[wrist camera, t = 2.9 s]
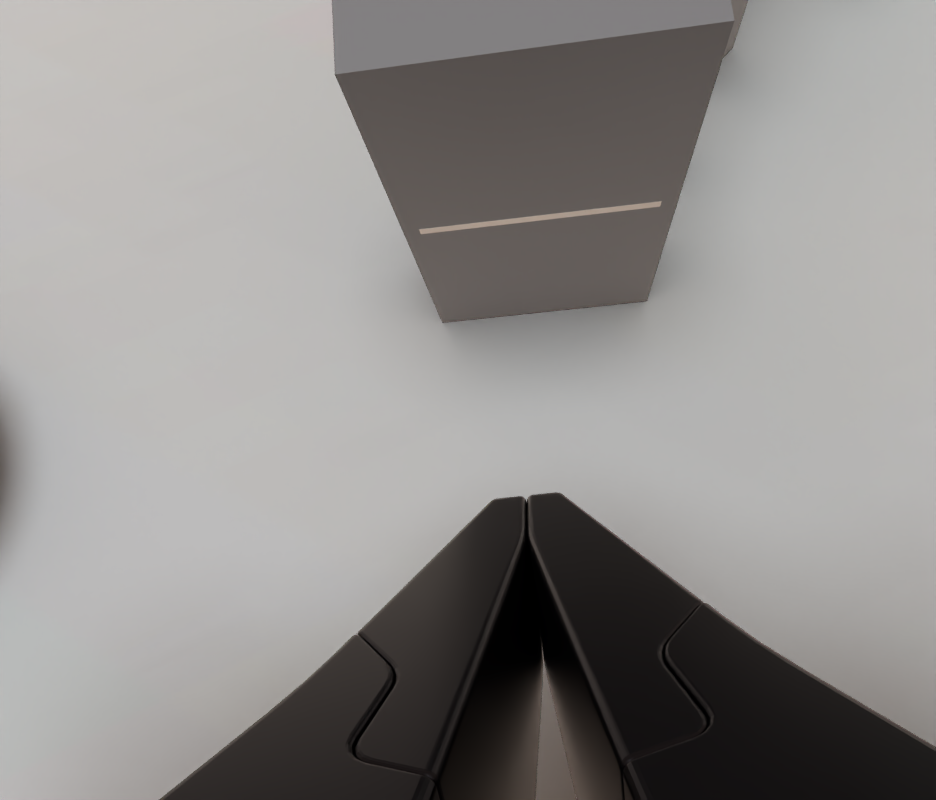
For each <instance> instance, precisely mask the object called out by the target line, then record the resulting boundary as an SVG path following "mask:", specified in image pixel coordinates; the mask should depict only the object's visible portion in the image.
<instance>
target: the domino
mask: <svg viewBox="0 0 936 800" xmlns="http://www.w3.org/2000/svg"><path fill="white" fill-rule="evenodd" d="M332 13H333V38H334V62H335V76H336V78H337V80H338V82H339V85H340V87H341V89H342V92H343V94H344V96H345V99H346V101H347V103H348V106H349V108H350V110H351V112H352V115H353V117H354V119H355V122H356V124H357V126H358V129H359V131H360V133H361V136H362V138H363V140H364V143H365V145H366V147H367V149H368V152H369V154H370V156H371V159H372V161H373V163H374V166H375V168H376V170H377V173H378V175H379V177H380V179H381V182H382V184H383V186H384V189H385V191H386V193H387V196H388V198H389V200H390V203H391V205H392V207H393V209H394V212H395V214H396V216H397V219H398V221H399V223H400V226H401V228H402V230H403V233H404V235H405V237H406V239H407V242H408V244H409V246H410V249H411V251H412V253H413V256H414V258H415V260H416V263H417V265H418V267H419V269H420V272H421V274H422V276H423V279H424V281H425V283H426V286H427V288H428V290H429V293H430V295H431V297H432V300H433V302H434V304H435V306H436V309H437V311H438V313H439V316H440V318H441V320H442V323H444V322H453V321H463V320H472V319H482V318H491V317H500V316H510V315H519V314H529V313H538V312H548V311H557V310H567V309H576V308H585V307H595V306H604V305H614V304H623V303H633V302H642V301H647V298H648V295H649V292H650V289H651V286H652V282H653V279H654V276H655V273H656V270H657V266H658V263H659V260H660V257H661V254H662V250H663V247H664V244H665V241H666V238H667V234H668V231H669V228H670V225H671V222H672V219H673V215H674V212H675V209H676V206H677V203H678V199H679V196H680V193H681V190H682V187H683V183H684V180H685V177H686V174H687V171H688V167H689V164H690V161H691V158H692V155H693V151H694V148H695V145H696V142H697V139H698V136H699V132H700V129H701V126H702V123H703V120H704V116H705V113H706V110H707V107H708V104H709V100H710V97H711V94H712V91H713V88H714V84H715V81H716V78H717V75H718V72H719V68H720V65H721V62H722V59H723V56H724V53H725V49H726V46H727V43H728V40H729V37H730V33H731V30H732V27H733V24H734V15H733V9H732V4H731V0H332Z"/></svg>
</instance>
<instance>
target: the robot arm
mask: <svg viewBox="0 0 936 800" xmlns="http://www.w3.org/2000/svg"><path fill="white" fill-rule="evenodd" d="M542 647H543V651H542ZM543 655H544V662H545V668H546V673H547V678H548V682H549V687H550V691H551V695H552V699H553V703H554V707H555V711H556V716H557V720H558V724H559V728H560V732H561V736H562V740H563V745H564V749H565V753H566V757H567V761H568V765H569V769H570V774H571V778H572V782H573V786H574V790H575V794H576V798H577V800H936V747H935V746H933V745H931V744H930V743H928V742H926V741H925V740H923V739H921V738H919V737H918V736H916V735H914V734H913V733H911V732H909V731H908V730H906V729H904V728H903V727H901V726H899V725H897V724H896V723H894V722H892V721H891V720H889V719H887V718H886V717H884V716H882V715H880V714H879V713H877V712H875V711H874V710H872V709H870V708H869V707H867V706H865V705H863V704H862V703H860V702H858V701H857V700H855V699H853V698H852V697H850V696H848V695H847V694H845V693H843V692H841V691H840V690H838V689H836V688H835V687H833V686H831V685H830V684H828V683H826V682H824V681H823V680H821V679H819V678H818V677H816V676H814V675H813V674H811V673H809V672H808V671H806V670H804V669H803V668H801V667H799V666H798V665H796V664H795V663H793V662H791V661H790V660H788V659H787V658H785V657H783V656H782V655H780V654H779V653H777V652H775V651H774V650H772V649H770V648H769V647H767V646H766V645H764V644H762V643H761V642H760V641H758V640H757V639H755V638H754V637H752V636H751V635H750V634H748V633H747V632H745V631H744V630H743V629H741V628H740V627H738V626H737V625H735V624H734V623H733V622H731V621H730V620H728V619H727V618H726V617H724V616H723V615H722V614H720V613H719V612H718V611H716V610H715V609H714V608H713V607H711V606H710V605H709V604H707V603H703V602H702V601H701V600H700V599H699V598H698V597H696V596H695V595H694V594H692V593H691V592H690V591H688V590H687V589H686V588H684V587H683V586H682V585H680V584H679V583H678V582H677V581H675V580H674V579H673V578H671V577H670V576H669V575H667V574H666V573H665V572H663V571H662V570H661V569H660V568H658V567H657V566H656V565H654V564H653V563H652V562H650V561H649V560H648V559H646V558H645V557H644V556H642V555H641V554H640V553H639V552H637V551H636V550H635V549H633V548H632V547H631V546H629V545H628V544H627V543H625V542H624V541H623V540H621V539H620V538H619V537H618V536H616V535H615V534H614V533H612V532H611V531H610V530H608V529H607V528H606V527H604V526H603V525H602V524H600V523H599V522H598V521H597V520H595V519H594V518H593V517H591V516H590V515H589V514H587V513H586V512H585V511H583V510H582V509H581V508H580V507H578V506H577V505H576V504H574V503H573V502H572V501H570V500H569V499H568V498H566V497H565V496H564V495H562V494H560V493H546V494H537V495H531V496H529V497H528V499H527V502H526V499H525V498H524V497H521V496H518V497H508V498H499V499H494V500H492V501H491V502H490V503H489V504H488V505H487V506H486V507H485V508H484V509H483V510H482V511H481V512H480V513H479V514H478V515H477V516H476V517H475V518H474V519H473V520H472V521H471V522H469V523H468V524H467V525H466V526H465V527H464V528H463V529H462V530H461V531H460V532H459V533H458V534H457V535H456V536H455V537H454V538H453V539H452V540H451V541H450V542H449V543H448V544H447V545H446V546H445V547H444V548H443V549H442V550H441V551H440V552H439V553H438V554H437V555H436V556H435V557H434V558H433V559H432V560H431V561H430V562H429V563H428V564H427V565H426V566H425V567H424V568H423V569H422V570H421V571H420V572H419V573H418V574H417V575H416V576H415V577H414V578H413V579H412V580H411V581H410V582H409V583H408V584H407V585H406V586H405V587H404V588H403V589H402V590H401V591H400V592H399V593H398V594H397V595H396V596H394V597H393V598H392V599H391V600H390V601H389V602H388V603H387V604H386V605H385V606H384V607H383V608H382V609H381V610H380V611H379V612H378V613H377V614H376V615H375V616H374V617H373V618H372V619H371V620H370V621H369V622H368V623H367V624H366V625H365V626H364V627H363V628H362V629H361V630H360V631H359V632H358V635H354V636H352V637H351V638H350V639H349V640H348V641H347V642H346V643H345V644H344V645H343V646H342V647H341V648H340V649H339V650H338V651H337V652H336V653H335V654H334V655H333V656H332V657H331V658H330V659H329V660H327V661H326V662H325V663H324V664H323V665H322V666H321V667H320V668H319V669H318V670H317V671H316V672H315V673H313V674H312V675H311V676H310V677H309V678H308V679H307V680H306V681H305V682H304V683H303V684H301V685H300V686H299V687H298V688H297V689H295V690H294V691H293V692H292V693H291V694H289V695H288V696H287V697H286V698H285V699H283V700H282V701H281V702H280V703H279V704H278V705H276V706H275V707H274V708H273V709H272V710H270V711H269V712H268V713H267V714H266V715H264V716H263V717H262V718H261V719H259V720H258V721H257V722H256V723H254V724H253V725H252V726H251V727H249V728H248V729H247V730H246V731H244V732H243V733H242V734H241V735H239V736H238V737H237V738H236V739H234V740H233V741H232V742H231V743H229V744H228V745H227V746H226V747H224V748H223V749H222V750H221V751H219V752H218V753H217V754H216V755H214V756H213V757H212V758H211V759H209V760H208V761H207V762H206V763H204V764H203V765H202V766H201V767H199V768H198V769H197V770H196V771H194V772H193V773H192V774H191V775H189V776H188V777H187V778H186V779H185V780H183V781H182V782H181V783H180V784H178V785H177V786H176V787H175V788H173V789H172V790H171V791H170V792H168V793H167V794H166V795H165V796H163V797H162V798H161V799H160V800H535V797H536V781H537V765H538V749H539V733H540V718H541V702H542V686H543Z"/></svg>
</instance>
